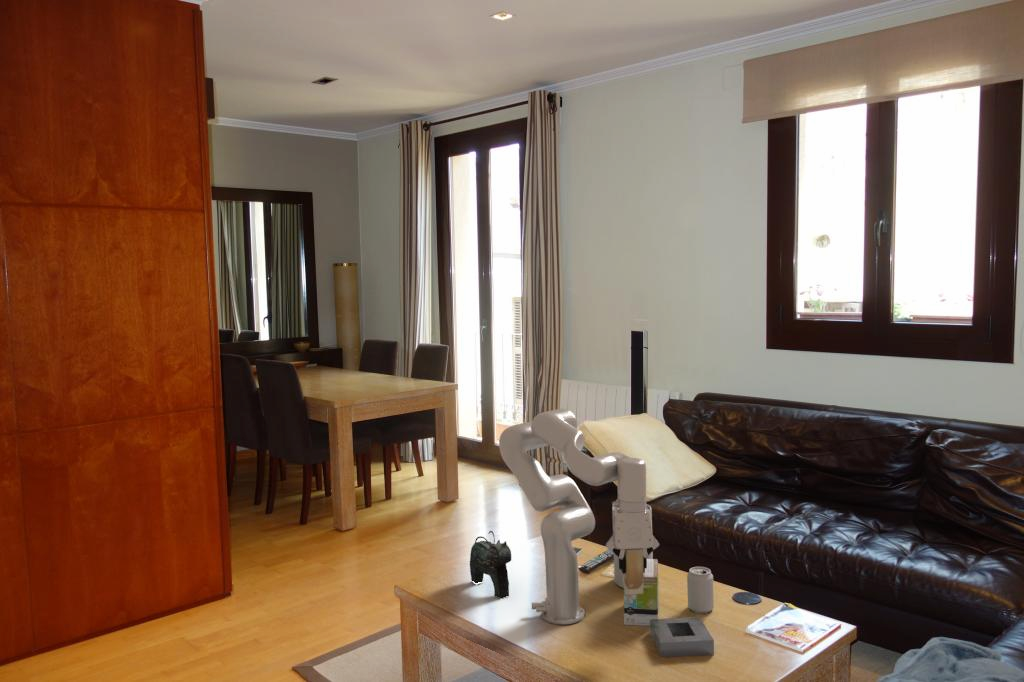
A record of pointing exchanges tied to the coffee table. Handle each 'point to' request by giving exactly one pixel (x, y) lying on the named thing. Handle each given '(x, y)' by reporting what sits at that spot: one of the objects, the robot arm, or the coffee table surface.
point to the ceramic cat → (491, 564)
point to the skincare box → (633, 571)
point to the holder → (681, 637)
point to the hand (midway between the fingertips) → (632, 570)
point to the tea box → (643, 598)
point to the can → (700, 590)
